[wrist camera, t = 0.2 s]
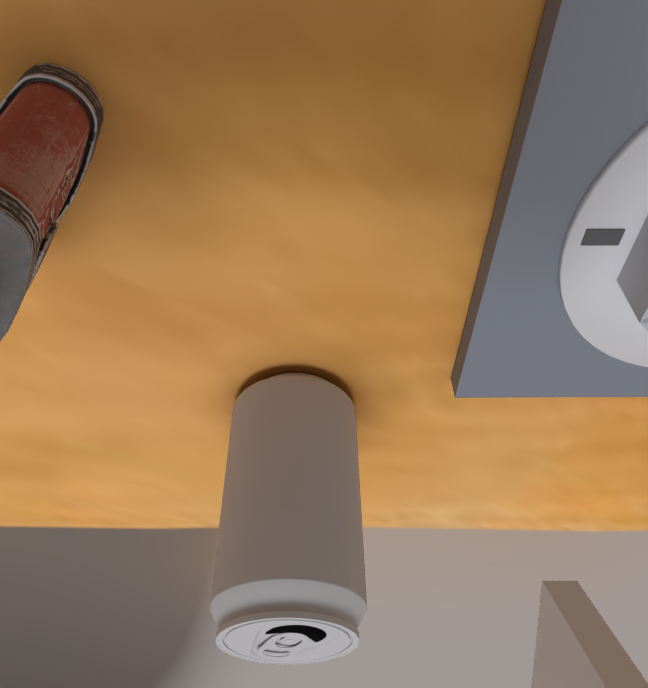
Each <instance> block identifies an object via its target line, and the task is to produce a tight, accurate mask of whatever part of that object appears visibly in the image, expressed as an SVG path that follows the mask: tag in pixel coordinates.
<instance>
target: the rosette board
mask: <svg viewBox="0 0 648 688" xmlns="http://www.w3.org/2000/svg"><path fill="white" fill-rule="evenodd" d="M451 381H452V386H453V391H454V395H455V398H487V397H648V0H547V2H546V6H545V10H544V14H543V18H542V22H541V26H540V30H539V34H538V38H537V42H536V45H535V49H534V53H533V57H532V61H531V65H530V69H529V73H528V77H527V81H526V85H525V89H524V93H523V97H522V101H521V105H520V109H519V113H518V117H517V121H516V125H515V128H514V132H513V136H512V140H511V144H510V148H509V152H508V156H507V160H506V164H505V168H504V172H503V176H502V180H501V184H500V188H499V192H498V196H497V200H496V204H495V207H494V211H493V215H492V219H491V223H490V227H489V231H488V235H487V239H486V243H485V247H484V251H483V255H482V259H481V263H480V267H479V271H478V275H477V279H476V283H475V287H474V290H473V294H472V298H471V302H470V306H469V310H468V314H467V318H466V322H465V326H464V330H463V334H462V338H461V342H460V346H459V350H458V354H457V358H456V362H455V366H454V369H453V373H452V377H451Z"/></svg>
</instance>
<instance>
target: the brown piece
mask: <svg viewBox="0 0 648 688" xmlns="http://www.w3.org/2000/svg"><path fill="white" fill-rule="evenodd" d="M102 122H103V106H102V103H101V101H100V98H99V96H98V94H97V93H96V92H95V90H94V89H93V88H92V86H91V85H90V84H89V83H88V82H87V81H85V80H84V79H83V78H82V77H81V76H79V75H78V74H77V73H75V72H73V71H71V70H69V69H67V68H65V67H63V66H58V65H54V64H49V63H47V64H39V65H34V66H33V67H32V68H30V69H29V70H27V71H26V72H25V73H24V75H23V76H22V77H21V78H20V80H19V81H18V82H17V83H16V85H15V86H14V87H13V88H12V90H11V91H10V92H9V93H8V95H7V96H6V97H5V98H4V100H3V101H2V102H1V103H0V341H1V340H2V338H3V337H4V336H5V335H6V333H7V332H8V330H9V328H10V326H11V324H12V322H13V320H14V318H15V316H16V314H17V312H18V309H19V307H20V305H21V303H22V300H23V298H24V296H25V294H26V291H27V290H28V288H29V287H30V285H31V283H32V281H33V279H34V277H35V275H36V273H37V271H38V269H39V267H40V265H41V263H42V261H43V259H44V257H45V254H46V252H47V250H48V248H49V245H50V243H51V241H52V239H53V236H54V234H55V232H56V230H57V227H58V225H57V222H58V221H59V219H60V218H61V217H62V215H63V214H64V212H65V211H66V210H67V208H68V207H69V205H70V204H71V203H72V201H73V199H74V197H75V195H76V193H77V191H78V189H79V187H80V184H81V182H82V180H83V178H84V176H85V173H86V171H87V169H88V167H89V164H90V162H91V160H92V158H93V155H94V151H95V148H96V144H97V140H98V137H99V133H100V129H101V126H102Z"/></svg>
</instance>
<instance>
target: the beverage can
mask: <svg viewBox="0 0 648 688" xmlns="http://www.w3.org/2000/svg"><path fill="white" fill-rule="evenodd" d="M364 567H365V566H364V549H363V532H362V514H361V497H360V480H359V463H358V446H357V429H356V413H355V407H354V405H353V402H352V400H351V399H350V398H349V396H348V395H347V394H346V393H345V392H344V391H343V390H342V389H340V388H339V387H337V386H336V385H334V384H332V383H330V382H328V381H327V380H325V379H323V378H321V377H318V376H315V375H311V374H306V373H284V374H279V375H275V376H272V377H269V378H267V379H264V380H261V381H258V382H256V383H254V384H252V385H251V386H249V387H248V388H246V389H245V390H244V391H243V392H242V393H241V394H240V395H239V396H238V398H237V399H236V401H235V404H234V407H233V413H232V421H231V430H230V438H229V447H228V455H227V464H226V473H225V481H224V490H223V498H222V507H221V515H220V524H219V533H218V541H217V550H216V558H215V567H214V575H213V584H212V594H211V601H210V611H211V613H212V616H213V618H214V620H215V621H216V623H217V625H218V627H219V629H218V631H217V633H216V644H217V646H218V647H219V648H220V649H221V650H222V651H224V652H225V653H227V654H229V655H232V656H234V657H237V658H240V659H244V660H248V661H254V662H260V663H269V664H307V663H316V662H322V661H327V660H331V659H335V658H338V657H341V656H344V655H346V654H348V653H350V652H352V651H353V650H355V649H356V647H357V646H358V645H359V632H358V630H357V628H358V626H359V624H360V623H361V621H362V619H363V617H364V615H365V613H366V610H367V600H366V584H365V568H364Z"/></svg>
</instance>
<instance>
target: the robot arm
mask: <svg viewBox="0 0 648 688" xmlns="http://www.w3.org/2000/svg"><path fill="white" fill-rule="evenodd" d="M532 688H648V683H647V682H646V680H645V679H644V677H643V676H642V674H641V673H640V671H639V670H638V669H637V667H636V666H635V664H634V663H633V661H632V660H631V658H630V657H629V655H628V654H627V653H626V651H625V650H624V648H623V647H622V645H621V644H620V642H619V641H618V640H617V638H616V637H615V635H614V634H613V632H612V631H611V629H610V628H609V626H608V625H607V624H606V622H605V621H604V619H603V618H602V616H601V615H600V613H599V612H598V611H597V609H596V608H595V606H594V605H593V603H592V602H591V600H590V599H589V597H588V596H587V595H586V593H585V592H584V590H583V589H582V587H581V586H580V585H579V583H578V581H542V587H541V597H540V607H539V618H538V627H537V637H536V648H535V657H534V667H533V677H532Z"/></svg>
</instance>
